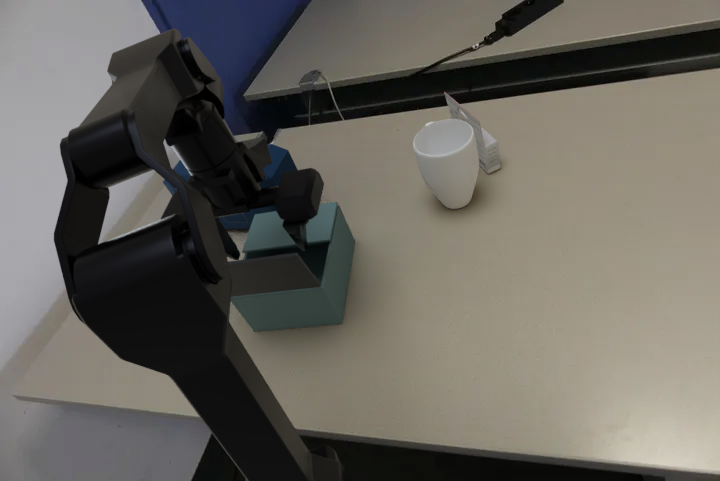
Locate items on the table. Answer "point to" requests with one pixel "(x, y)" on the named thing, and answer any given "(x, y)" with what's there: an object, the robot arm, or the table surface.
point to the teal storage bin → (323, 257)
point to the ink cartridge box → (477, 136)
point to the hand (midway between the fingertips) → (271, 253)
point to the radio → (273, 177)
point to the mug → (448, 160)
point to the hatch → (270, 275)
